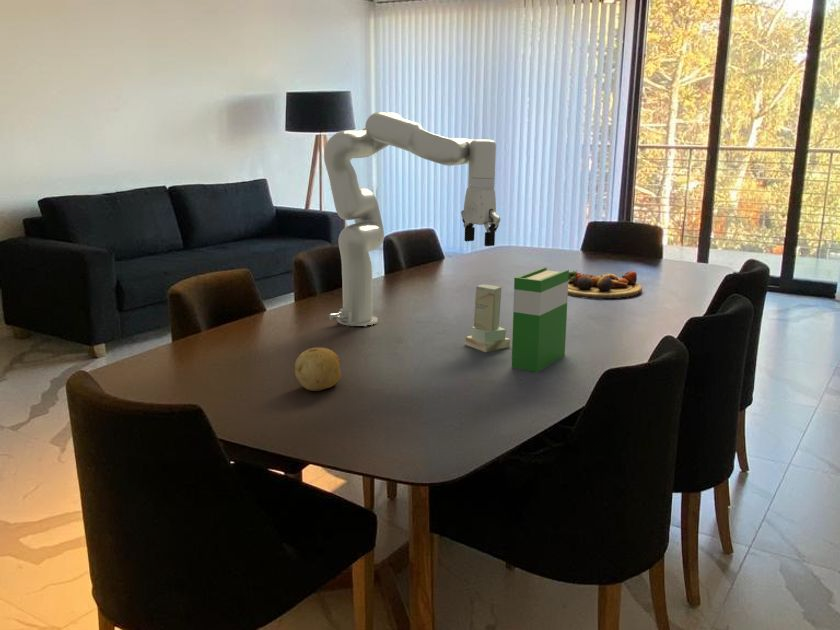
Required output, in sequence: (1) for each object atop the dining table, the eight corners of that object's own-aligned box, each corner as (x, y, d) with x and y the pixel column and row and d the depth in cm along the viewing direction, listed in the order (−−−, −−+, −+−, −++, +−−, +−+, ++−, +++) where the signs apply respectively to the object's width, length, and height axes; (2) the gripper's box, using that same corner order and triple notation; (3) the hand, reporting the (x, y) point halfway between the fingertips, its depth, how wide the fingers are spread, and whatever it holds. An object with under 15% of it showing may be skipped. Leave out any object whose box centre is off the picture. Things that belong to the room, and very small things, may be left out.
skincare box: (473, 327, 222) (474, 286, 219) (481, 324, 226) (482, 283, 222) (492, 331, 219) (494, 289, 215) (500, 327, 222) (502, 286, 219)
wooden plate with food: (634, 283, 311) (635, 263, 309) (649, 300, 280) (650, 277, 278) (553, 283, 314) (554, 263, 312) (559, 300, 283) (559, 277, 282)
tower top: (484, 342, 218) (485, 332, 217) (471, 336, 224) (471, 326, 223) (505, 339, 221) (505, 329, 220) (491, 333, 227) (492, 323, 226)
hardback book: (540, 351, 219) (543, 267, 213) (564, 355, 215) (568, 270, 209) (511, 367, 204) (514, 277, 199) (537, 372, 200) (541, 280, 195)
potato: (351, 384, 191) (350, 345, 189) (317, 399, 181) (316, 358, 178) (319, 377, 196) (318, 339, 194) (285, 391, 186) (283, 351, 184)
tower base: (485, 354, 218) (485, 343, 217) (465, 346, 225) (465, 336, 224) (509, 348, 223) (509, 338, 222) (489, 341, 230) (489, 332, 229)
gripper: (453, 181, 226) (451, 240, 231) (489, 186, 212) (487, 248, 216) (473, 181, 230) (472, 238, 234) (510, 186, 216) (508, 246, 220)
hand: (479, 243), depth 225 cm, fingers open, 9 cm apart
